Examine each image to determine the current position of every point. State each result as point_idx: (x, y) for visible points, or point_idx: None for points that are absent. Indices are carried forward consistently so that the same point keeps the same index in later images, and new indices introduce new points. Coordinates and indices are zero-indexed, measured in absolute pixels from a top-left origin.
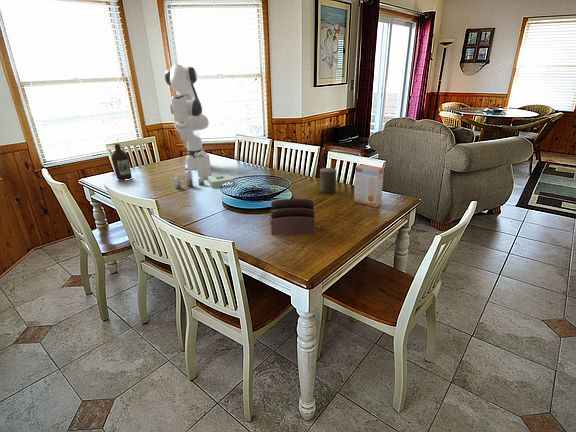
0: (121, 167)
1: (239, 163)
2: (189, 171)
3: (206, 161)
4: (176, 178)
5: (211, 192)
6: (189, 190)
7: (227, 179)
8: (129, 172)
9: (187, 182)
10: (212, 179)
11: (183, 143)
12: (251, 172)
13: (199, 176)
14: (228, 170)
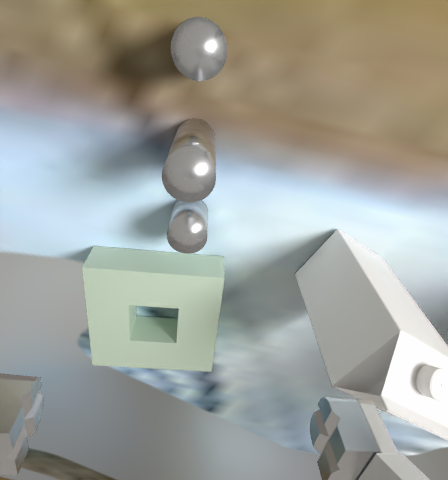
0: None
1: None
2: (182, 189)
3: (323, 358)
4: (172, 41)
5: (8, 222)
6: (100, 111)
7: (99, 344)
8: None
9: (181, 130)
10: (137, 284)
11: (337, 424)
12: (261, 434)
13: (335, 240)
14: None
